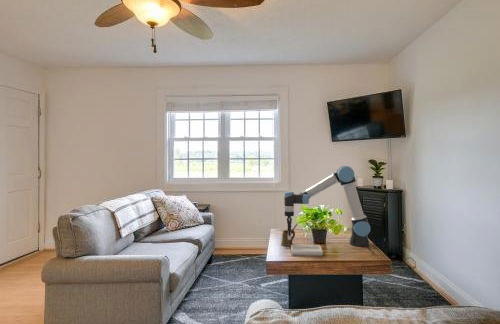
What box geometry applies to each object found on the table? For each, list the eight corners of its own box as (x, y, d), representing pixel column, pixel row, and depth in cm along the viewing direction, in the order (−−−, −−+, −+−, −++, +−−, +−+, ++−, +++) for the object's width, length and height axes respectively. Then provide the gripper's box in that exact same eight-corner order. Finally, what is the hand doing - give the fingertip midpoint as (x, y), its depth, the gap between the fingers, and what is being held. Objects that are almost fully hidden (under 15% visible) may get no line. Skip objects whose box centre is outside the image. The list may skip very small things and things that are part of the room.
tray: (320, 249, 237) (320, 245, 237) (322, 255, 221) (322, 251, 221) (291, 248, 240) (291, 244, 240) (291, 255, 224) (291, 251, 224)
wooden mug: (296, 247, 243) (296, 224, 243) (280, 246, 248) (279, 223, 248) (298, 244, 252) (298, 222, 252) (282, 243, 256) (282, 221, 256)
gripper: (284, 208, 262) (284, 233, 262) (284, 213, 237) (284, 241, 238) (293, 208, 261) (293, 233, 262) (294, 213, 237) (294, 241, 237)
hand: (289, 237), depth 250 cm, fingers open, 13 cm apart
